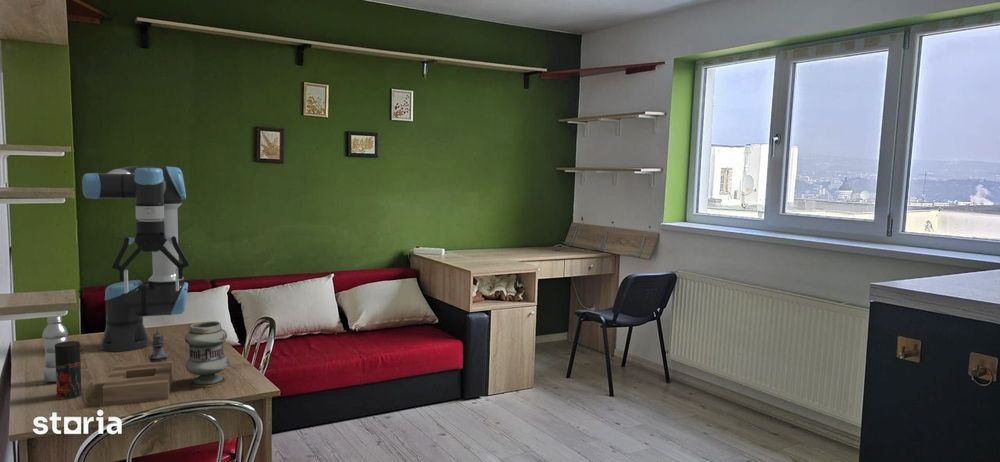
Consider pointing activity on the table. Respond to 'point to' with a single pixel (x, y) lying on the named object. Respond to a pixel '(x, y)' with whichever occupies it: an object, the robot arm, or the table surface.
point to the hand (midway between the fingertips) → (152, 291)
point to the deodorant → (68, 369)
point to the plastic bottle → (52, 345)
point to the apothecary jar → (206, 353)
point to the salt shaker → (158, 349)
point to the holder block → (138, 383)
